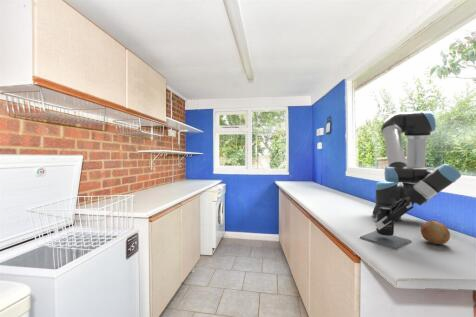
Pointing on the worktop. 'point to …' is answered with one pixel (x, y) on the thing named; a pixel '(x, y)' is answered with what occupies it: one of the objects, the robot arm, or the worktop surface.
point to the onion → (435, 232)
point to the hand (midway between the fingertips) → (376, 224)
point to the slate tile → (386, 240)
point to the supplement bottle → (389, 228)
